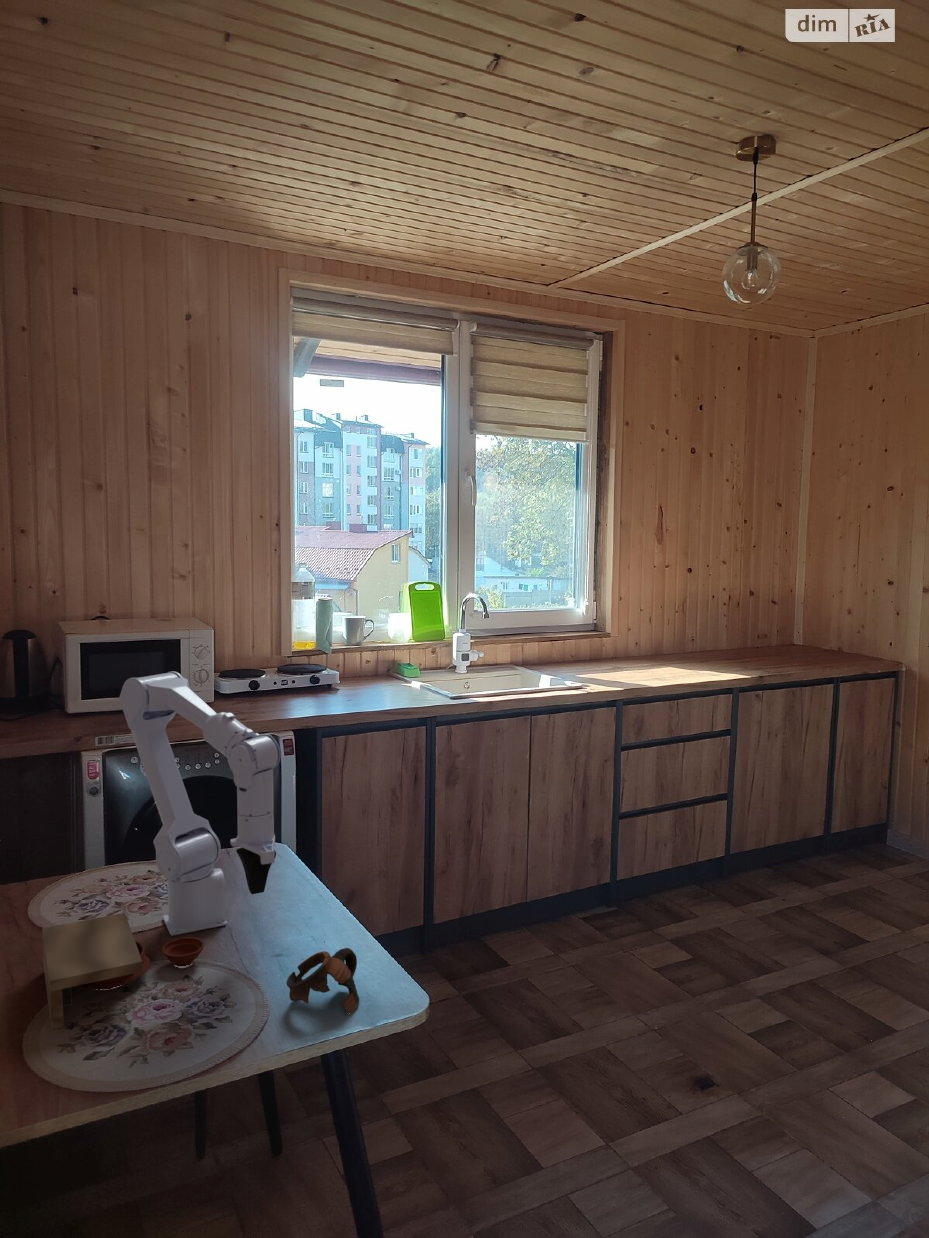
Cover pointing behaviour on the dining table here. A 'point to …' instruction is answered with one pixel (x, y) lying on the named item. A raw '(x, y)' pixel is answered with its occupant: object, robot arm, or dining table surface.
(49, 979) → the low shelf
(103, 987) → the pottery
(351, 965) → the broken clay jug rim
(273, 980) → the dining table surface
